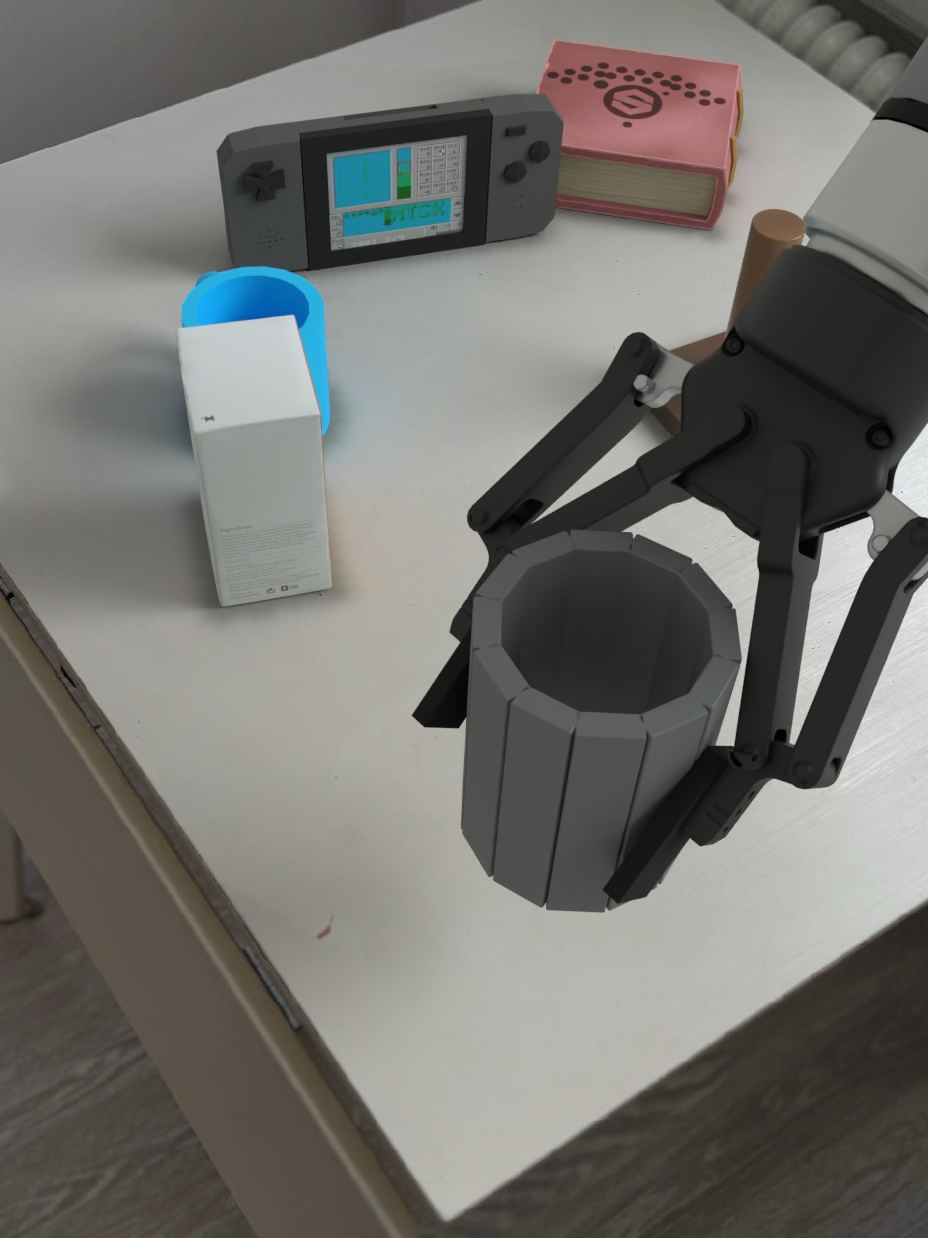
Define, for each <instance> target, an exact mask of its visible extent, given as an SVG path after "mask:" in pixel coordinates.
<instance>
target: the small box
mask: <svg viewBox="0 0 928 1238" xmlns="http://www.w3.org/2000/svg"><path fill="white" fill-rule="evenodd" d="M175 342H176V348H177V355H178V361H179V362H178V363H179V368H180V373H181V380H182V387H183V394H184V400H185V401H184V402H185V406H186V413H187V419H188V428H189V434H190V441H191V446H192V453H193V459H194V465H195V471H196V472H195V473H196V478H197V483H198V484H197V485H198V490H199V491H198V492H199V498H200V504H201V510H202V516H203V522H204V530H205V534H206V541H207V546H208V551H209V557H210V562H211V567H212V568H211V569H212V572H213V577H214V582H215V588H216V594H217V597H218V601H219V604H220V607H229V606H237V605H242V604H249V603H255V602H260V601H261V602H262V601H267V600H272V599H273V600H274V599H279V598H285V597H289V596H297V595H303V594H307V593H313V592H319V591H325V590H329V589H332V588H333V578H332V577H333V576H332V561H331V547H330V535H329V519H328V504H327V486H326V484H327V483H326V471H325V457H324V456H325V454H324V439H323V438H324V436H322V416H321V410H320V406H319V402H318V398H317V394H316V391H315V387H314V383H313V380H312V376H311V372H310V369H309V365H308V361H307V357H306V354H305V350H304V347H303V343H302V340H301V336H300V332H299V329H298V325H297V322H296V318H295V316H294V315H286V316H278V317H270V318H262V319H253V320H244V321H236V322H228V323H219V324H211V325H203V326H194V327H185V328H182V327H178V328H176V330H175Z"/></svg>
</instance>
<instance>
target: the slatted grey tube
mask: <svg viewBox="0 0 928 1238" xmlns="http://www.w3.org/2000/svg"><path fill="white" fill-rule="evenodd" d="M693 561H694V559H693V558H692V557H690V556H688V555H686V554H683V553H681V552H679V551H676V550H674V549H672V548H670V547H668V546H666V545H663V544H661V543H659V542H657V541H655V540H652V539H650V538H649V537H646V536H644V535H641V534H639V533H637V534H636V535H635V536H634V534H633V532H631V531H622V532H616V531H594V530H571V531H570V535H569V534H568V533H567V531H563V532H560V533H558V534H555V535H552V536H550V537H547V538H544V539H542V540H539V541H537V542H534V543H531V544H529V545H526V546H523V547H521V548H518V549H515V550H513V551H512V554H510V553H508V554H507V555H506V557H505V558H504V559H503V560H502V561H501V563H500V564H499V565H498V566H497V567H496V569H495V570H494V571H493V572H492V574H491V575H490V576H489V577H488V578H487V580H486V581H485V582H484V583H483V584H482V586H481V587H480V588H479V589H478V590H477V592H476V594H475V597H474V598H473V615H472V632H471V648H470V665H469V682H468V699H467V716H466V719H465V734H464V750H463V751H464V752H463V767H462V768H463V769H462V785H461V809H460V810H461V813H460V814H461V815H460V830H461V832H462V833H461V834H462V836H463V838H464V839H465V841H466V843H467V844H468V846H469V848H470V849H471V851H472V852H473V855H474V856H475V857H476V859H477V861H478V862H479V864H480V866H481V867H482V869H483V871H484V872H485V874H486V876H487V877H488V878H492V881H493V882H494V883H496V884H498V885H499V886H502V887H503V888H505V889H507V890H508V891H511V892H512V893H514V894H515V895H518V896H519V897H521V898H523V899H524V900H526V901H528V902H529V903H531V904H533V905H535V906H537V907H538V908H541V909H542V908H544V907H545V909H546V911H553V912H554V911H555V912H575V913H576V912H577V913H578V912H580V913H602V914H604V913H605V911H606V910H607V911H609V912H611V911H612V910H615V909H617V908H619V907H621V906H623V905H625V904H628V903H629V902H630V901H628V902H624V903H620V904H617V903H616V902H615V901H614V900H613V899H612V898H611V897H609V896H608V895H607V894H606V893H605V892H604V891H603V890H602V889H603V888H604V887H605V885H606V884H607V883H608V881H609V880H610V878H611V877H612V876H613V874H614V873H615V872H616V870H617V869H618V868H619V866H620V865H621V863H622V862H623V861H624V859H625V858H626V857H627V855H628V854H629V852H630V851H631V850H632V848H633V847H634V846H635V844H636V843H637V842H638V840H639V839H640V837H641V836H642V835H643V833H644V832H645V831H646V829H647V828H648V827H649V825H650V824H651V822H652V821H653V820H654V818H655V817H656V816H657V814H658V813H659V811H660V810H661V809H662V807H663V806H664V805H665V803H666V802H667V801H668V799H669V798H670V796H671V795H672V794H673V792H674V791H675V790H676V788H677V787H678V785H679V784H680V783H681V781H682V780H683V779H684V777H685V776H686V775H687V773H688V772H689V770H690V769H691V768H692V766H693V765H694V764H695V762H696V761H697V760H698V758H699V757H700V755H701V754H702V753H703V751H704V750H705V749H706V747H707V746H708V745H715V746H717V742H718V739H719V736H720V733H721V729H722V726H723V723H724V719H725V716H726V714H727V710H728V707H729V704H730V700H731V698H732V694H733V691H734V688H735V684H736V681H737V678H738V675H739V672H740V668H741V664H742V661H743V656H742V648H741V641H740V639H741V638H740V631H739V624H738V617H737V610H736V608H734V607H733V603H732V601H731V600H730V599H729V598H728V597H727V596H726V594H725V593H724V592H723V590H721V589H720V587H719V586H718V585H717V583H716V582H714V580H713V579H712V578H711V576H709V574H708V573H707V572H706V571H705V570H704V569H703V567H702V566H701V565H700V564H699V563H698V562H694V563H693ZM680 853H681V851H680V852H679V854H680ZM679 854H678V855H677V856H676V858H675V859H674V860H673V862H672V863H671V865H670V866H669V867H668V869H667V870H666V871H665V873H664V874H663V875H662V877H661V878H660V879H659V881H658V882H657V883H656V885H655V886H654V887H653V889H652V890H651V891H653V890H656V889H657V888H658V885H661V884H663V882H664V880H665V878H666V877H667V875H668V873H669V871H670V870H671V868H672V867H673V865H674V863H675V861H676V860H677V858H678V856H679Z"/></svg>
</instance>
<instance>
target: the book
mask: <svg viewBox="0 0 928 1238" xmlns="http://www.w3.org/2000/svg"><path fill="white" fill-rule="evenodd" d="M742 88H743V87H742V71H741V64H738V63H730V62H723V61H717V60H716V61H715V60H708V59H702V58H701V59H700V58H693V57H687V56H678V55H672V54H664V53H657V52H648V51H643V50H636V49H635V50H634V49H628V48H620V47H611V46H605V45H599V44H598V45H597V44H591V43H583V42H575V41H569V40H561V39H552V42H551V45H550V48H549V52H548V54H547V58H546V60H545V64H544V67H543V70H542V74H541V76H540V79H539V81H538V85H537V88H536V91H535V94H546V95H547V97H548V98H549V99H550V100H551V102H552V103H553V104H554V105H555V107H556V108H557V110H558V111H559V113H560V115H561V116H562V118H563V121H564V126H563V136H562V146H561V156H560V166H559V176H558V186H557V196H556V206H555V208H559V209H565V210H573V211H578V212H579V211H580V212H586V213H591V214H598V215H607V216H612V217H618V218H626V219H633V220H640V221H646V222H652V223H653V222H654V223H658V224H659V223H660V224H666V225H674V226H678V227H679V226H680V227H685V228H694V229H698V230H699V229H701V230H706V231H713V230H714V228H715V227H716V224H717V223H718V221H719V219H720V217H721V215H722V213H723V210H724V206H725V202H726V197H727V193H728V191H729V189H730V187H731V185H732V184H733V181H734V178H735V173H736V168H737V164H738V137H739V135H740V132H741V130H742V129H741V128H742V124H743V119H744V114H745V105H744V102H745V101H744V90H743V89H742Z"/></svg>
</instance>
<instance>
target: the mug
mask: <svg viewBox="0 0 928 1238" xmlns="http://www.w3.org/2000/svg"><path fill="white" fill-rule="evenodd" d="M324 302H325V301H324V299H323V297H322V295H321V294H320V292H319V290H318V287H316V286H315V285H313V284H312V283H311V282H309V281H308V280H307V279H306V278H304V277H303V276H301V275H298V274H296V273H294V272H292V271H286V270H282V269H276V268H270V267H264V266H263V267H241V268H237V267H236V268H232V269H227V270H223V271H220V272H219V271H217V270H211V271H208V272H204V273H202V274H201V275H199V276H198V277H197V279H196V282H195V284H194V288H192V289H191V290H190V291H189V292H188V294H187V295H186V297H185V299H184V301H183V303H182V304H181V312H180V313H181V314H180V321H181V328H185V327H194V326H203V325H211V324H219V323H228V322H236V321H244V320H253V319H262V318H270V317H278V316H286V315H294V316H295V318H296V322H297V325H298V329H299V332H300V336H301V340H302V343H303V347H304V350H305V354H306V357H307V361H308V365H309V369H310V372H311V376H312V380H313V383H314V387H315V391H316V394H317V398H318V402H319V406H320V410H321V416H322V436H323V437H324V436H325V435H326V433H327V430H328V428H329V426H330V424H331V403H330V387H329V386H330V385H329V371H328V370H329V368H328V353H327V352H328V351H327V337H326V335H327V334H326V321H325V320H326V319H325V303H324Z"/></svg>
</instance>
